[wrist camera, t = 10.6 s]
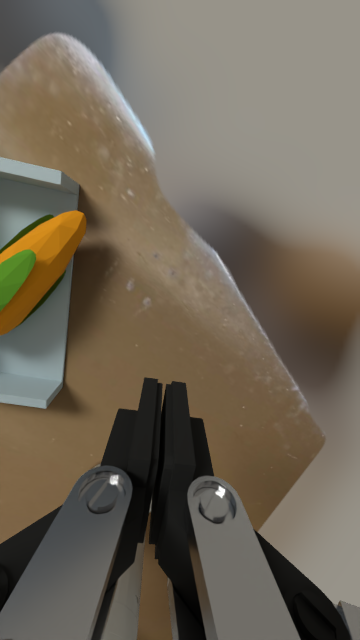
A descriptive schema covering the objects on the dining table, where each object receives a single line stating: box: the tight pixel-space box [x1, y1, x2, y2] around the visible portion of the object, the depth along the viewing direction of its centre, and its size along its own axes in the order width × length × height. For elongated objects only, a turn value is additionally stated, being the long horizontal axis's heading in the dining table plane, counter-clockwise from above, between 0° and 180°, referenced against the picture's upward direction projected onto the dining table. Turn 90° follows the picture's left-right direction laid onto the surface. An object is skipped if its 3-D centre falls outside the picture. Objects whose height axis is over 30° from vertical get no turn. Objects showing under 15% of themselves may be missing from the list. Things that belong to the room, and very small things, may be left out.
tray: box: [0, 157, 80, 409], centre depth 29 cm, size 27×12×5 cm, turn 169°
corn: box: [0, 210, 87, 336], centre depth 27 cm, size 7×8×20 cm
